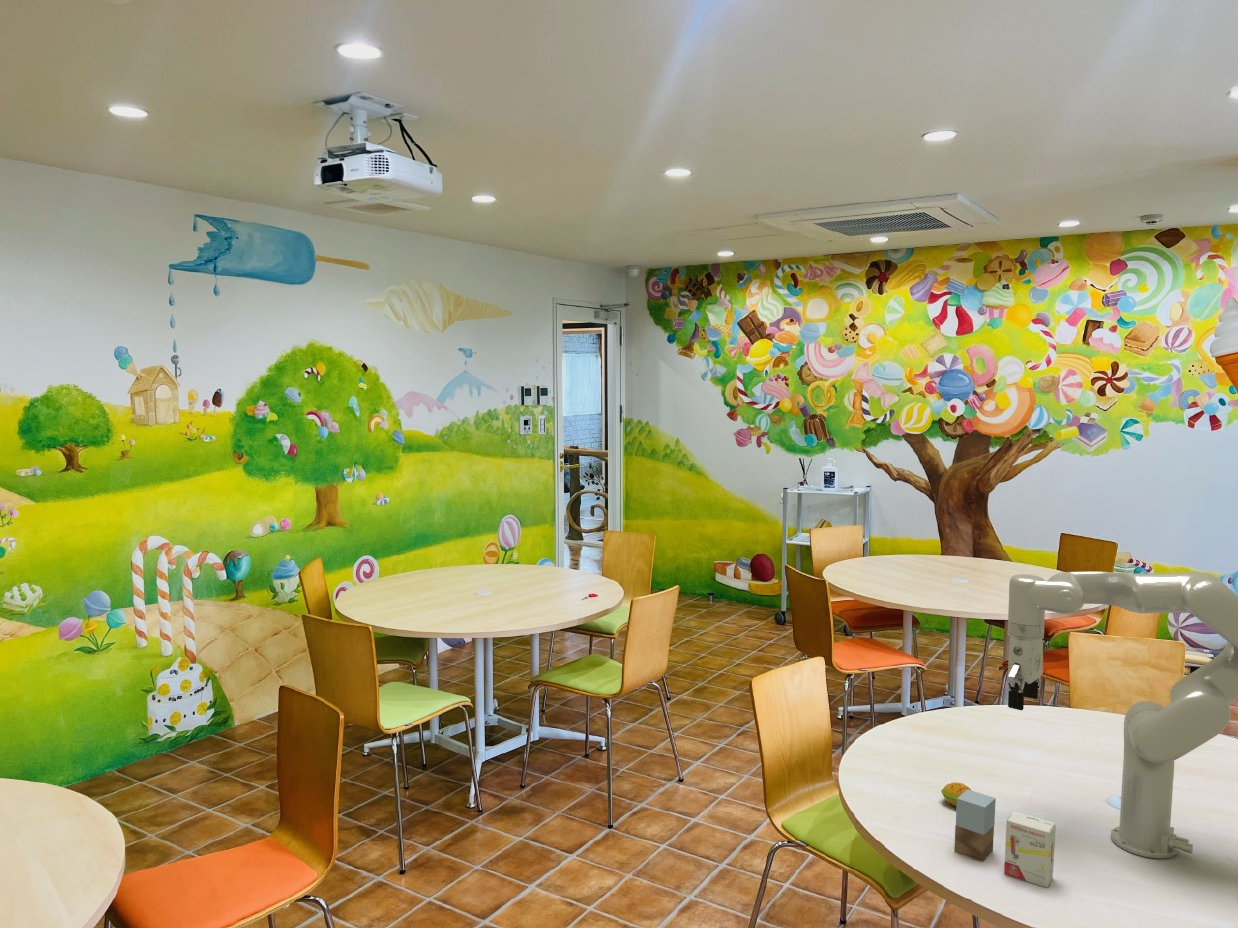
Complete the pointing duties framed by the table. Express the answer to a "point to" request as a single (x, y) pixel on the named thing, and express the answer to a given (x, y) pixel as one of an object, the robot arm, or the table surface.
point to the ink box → (1029, 848)
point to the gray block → (975, 811)
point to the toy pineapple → (954, 792)
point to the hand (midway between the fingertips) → (1023, 702)
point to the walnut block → (973, 843)
